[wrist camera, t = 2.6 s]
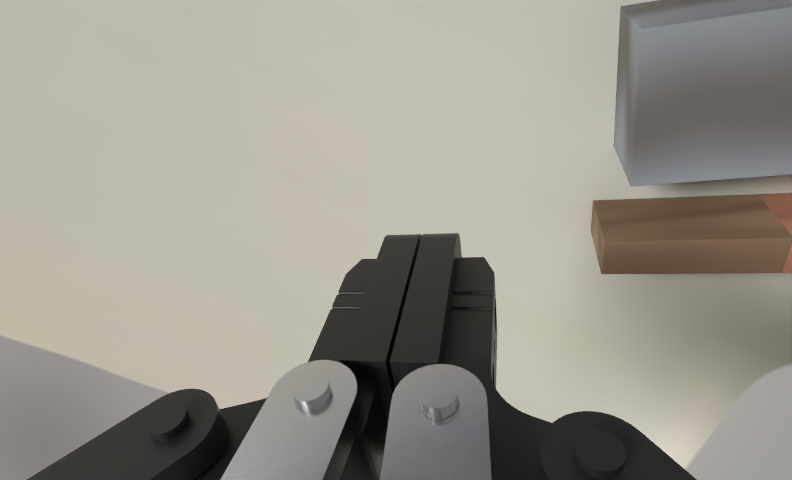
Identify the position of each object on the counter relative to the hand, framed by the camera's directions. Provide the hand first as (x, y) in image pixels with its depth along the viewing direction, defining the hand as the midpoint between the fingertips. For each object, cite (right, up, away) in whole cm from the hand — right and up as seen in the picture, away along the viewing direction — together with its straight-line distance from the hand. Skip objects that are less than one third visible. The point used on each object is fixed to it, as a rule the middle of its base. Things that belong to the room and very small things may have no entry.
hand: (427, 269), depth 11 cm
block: (+10, +7, +7) cm, 14 cm away
